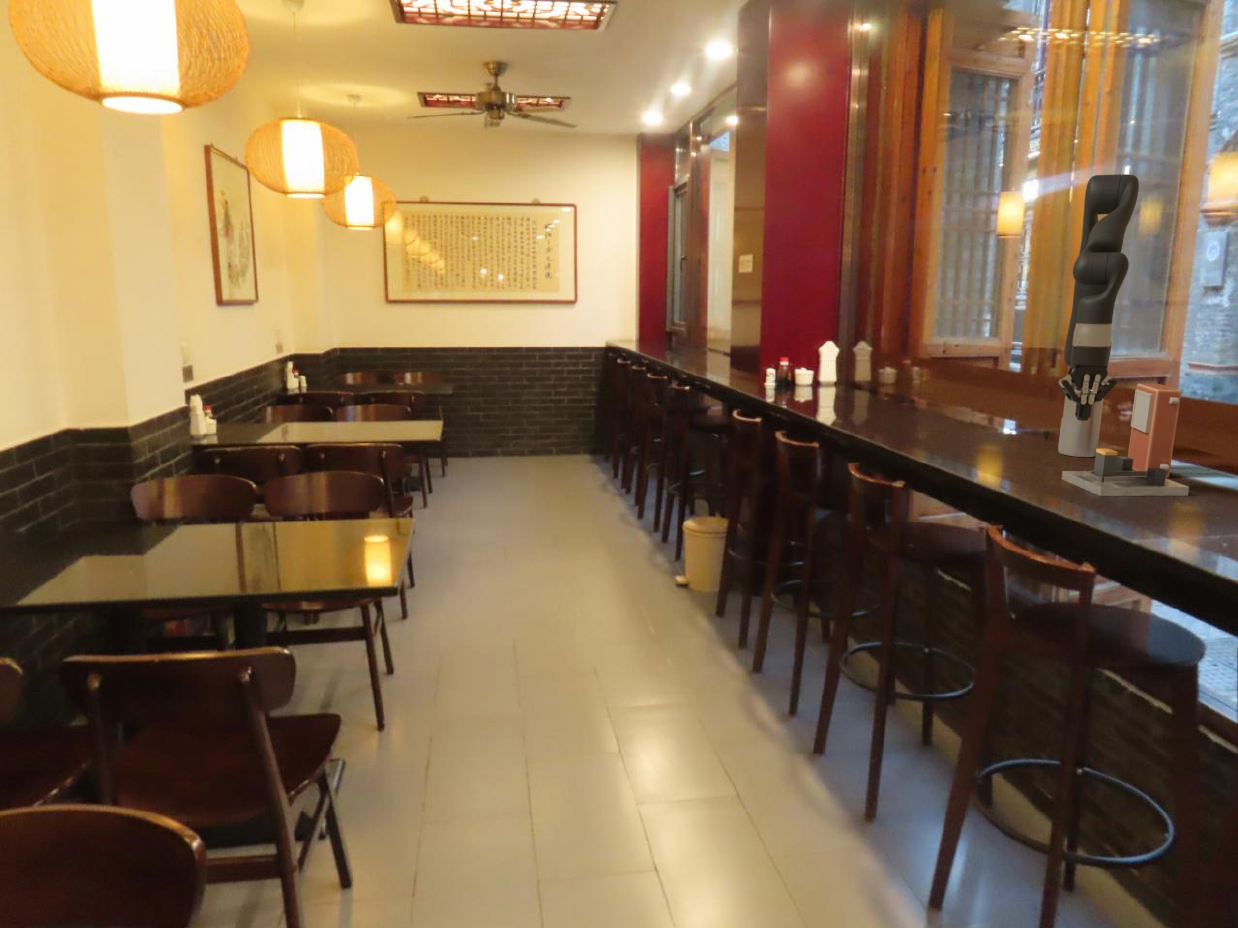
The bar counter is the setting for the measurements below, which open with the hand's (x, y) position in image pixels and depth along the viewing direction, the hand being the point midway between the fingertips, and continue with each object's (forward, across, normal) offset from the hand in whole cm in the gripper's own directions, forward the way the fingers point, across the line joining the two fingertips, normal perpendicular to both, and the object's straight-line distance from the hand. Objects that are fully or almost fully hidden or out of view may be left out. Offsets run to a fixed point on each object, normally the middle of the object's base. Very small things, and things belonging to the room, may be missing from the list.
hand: (1082, 420), depth 193 cm
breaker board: (+16, -12, 0) cm, 20 cm away
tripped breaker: (+13, -7, 0) cm, 15 cm away
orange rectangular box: (+16, -28, -16) cm, 36 cm away
